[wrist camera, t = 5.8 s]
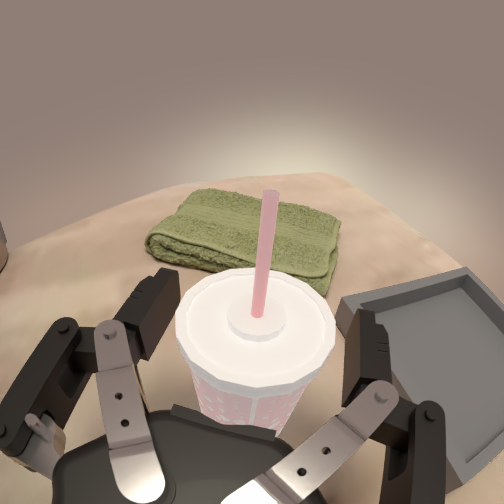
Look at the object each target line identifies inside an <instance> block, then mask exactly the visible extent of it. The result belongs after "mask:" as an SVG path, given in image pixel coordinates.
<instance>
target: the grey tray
mask: <svg viewBox="0 0 504 504" xmlns="http://www.w3.org/2000/svg"><path fill="white" fill-rule="evenodd" d="M358 308H360V309H366V310H372V311H374V312H375V320H376V323H377V324H383V325H384V327H385V329H386V331H387V332H388V335H389V346H390V358H391V373H392V384H393V386H394V387H395V388H396V389H397V391H398V394H399V396H401V397H402V398H404V399H406V400H408V401H410V402H413V403H415V404H417V405H419V404H420V403H421V402H423V401H426V400H431V401H434V402H436V403H438V404H439V405H440V406H441V407H442V408H443V410H444V413H445V423H446V488H445V494H447V493H449V492H451V491H453V490H455V489H457V488H458V487H460V486H462V485H464V484H465V483H466V482H467V481H469V480H470V479H471V478H472V477H473V476H475V475H476V474H477V473H478V472H479V471H480V470H481V469H483V468H484V467H485V466H486V465H487V464H488V463H489V462H490V461H491V460H492V459H493V458H494V457H496V456H497V455H498V454H499V453H500V452H501V451H502V450H503V449H504V304H503V303H502V302H501V301H500V300H499V299H498V298H497V297H496V296H495V295H494V294H493V292H492V291H491V290H490V289H489V288H488V287H487V286H486V285H485V284H484V283H483V282H482V281H481V280H480V279H478V277H477V276H475V274H473V272H471V271H470V270H469V269H468V268H467V267H463V268H460V269H456V270H452V271H449V272H445V273H441V274H437V275H434V276H430V277H426V278H422V279H418V280H414V281H410V282H406V283H402V284H398V285H393V286H389V287H385V288H381V289H376V290H372V291H367V292H363V293H358V294H354V295H349V296H345V297H342V298H341V301H340V304H339V306H338V309H337V312H336V315H335V321H336V325H337V327H338V328H339V330H340V331H341V333H342V335H343V336H344V338H345V339H346V335H347V332H348V330H349V327H350V325H351V322H352V320H353V317H354V315H355V312H356V310H357V309H358Z"/></svg>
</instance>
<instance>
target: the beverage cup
mask: <svg viewBox="0 0 504 504" xmlns="http://www.w3.org/2000/svg"><path fill="white" fill-rule="evenodd" d="M279 195H280V194H279V192H277V191H275V190H265V191H263V197H262V207H261V217H260V227H259V237H258V247H257V257H256V267H255V268H239V269H229V270H226V271H223V272H219V273H216V274H213V275H210V276H207V277H205V278H204V279H202V280H201V281H200V282H198V283H197V284H196V285H194V286H193V287H192V288H190V289H189V290H188V291H186V293H185V295H184V297H183V299H182V301H181V302H180V304H179V306H178V308H177V310H176V339H177V342H178V344H179V350H180V352H181V353H182V355H183V357H184V359H185V360H186V362H187V364H188V365H189V367H190V370H191V374H192V378H193V382H194V386H195V390H196V393H197V397H198V401H199V405H200V408H201V412H202V414H204V415H206V416H207V417H209V418H211V419H213V420H215V421H217V422H218V423H221V424H226V425H254V426H258V427H263V428H268V429H273V430H277V431H276V435H275V437H277V436H278V435H279V434H280V432H281V430H282V429H283V427H284V425H285V424H286V422H287V420H288V418H289V417H290V415H291V413H292V411H293V410H294V408H295V406H296V404H297V403H298V401H299V399H300V397H301V395H302V394H303V392H304V390H305V388H306V386H307V384H308V382H310V381H311V380H313V379H315V377H316V376H317V374H318V373H319V371H320V370H321V368H322V367H323V365H324V364H325V362H326V360H327V359H328V357H329V354H330V353H331V351H332V350H333V347H334V345H335V327H336V321H335V318H334V316H333V314H332V312H331V310H330V308H329V306H328V304H327V302H326V300H325V299H324V298H323V297H322V296H320V295H319V294H318V293H317V292H316V291H315V290H314V289H313V288H312V287H310V286H309V285H308V284H307V283H305V282H303V281H301V280H299V279H296V278H294V277H292V276H290V275H288V274H286V273H283V272H278V271H273V270H270V264H271V257H272V249H273V242H274V234H275V226H276V218H277V211H278V203H279Z"/></svg>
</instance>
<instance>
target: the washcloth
mask: <svg viewBox="0 0 504 504" xmlns="http://www.w3.org/2000/svg"><path fill="white" fill-rule="evenodd" d="M261 207H262V199H258V198H255V197H254V198H253V197H250V196H245V195H242V194H239V193H236V192H227V191H224V190H223V191H221V190H217V189H213V188H212V189H210V188H208V189H202V190H200V189H199V190H197V191H195V192H193V193H192V194H190V196H189V197H188V198H187V199H186V200H185V201H184V202H183V204H181V205H180V206H179V207H178V211H177V212H176V213H175V214H174V215H171V216H169V217H167V218H166V219H164V220H163V221H161V223H160V224H158V225H157V226H155V227H154V228H153V229H152V230H151V231H150V232H149V234H148V236H147V237H146V239H145V247H146V249H147V250H148V251H149V252H150V253H151V254H152V255H154V256H155V257H157V258H159V259H161V260H163V261H166V262H171V263H178V264H181V265H183V266H187V267H190V268H194V269H204V270H206V271H208V272H213V273H219V272H223V271H226V270H229V269H239V268H255V267H256V257H257V247H258V237H259V227H260V217H261ZM340 225H341V221H339V220H337V219H336V218H335V217H333V216H332V215H329V214H326V213H322V212H320V211H318V210H315V209H310V208H309V206H304V205H303V206H301V205H297V204H292V203H284V202H279V203H278V211H277V218H276V226H275V234H274V242H273V249H272V257H271V264H270V270H273V271H278V272H283V273H286V274H288V275H290V276H292V277H294V278H296V279H299V280H301V281H303V282H305V283H307V284H308V285H309V286H310V287H312V288H313V289H314V290H315V291H316V292H317V293H318V294H319V295H320V296H322V297H326V293H327V291H328V287H329V283H330V280H331V275H332V272H333V270H334V267H335V263H336V261H337V258H338V248H337V234H338V231H339V228H340Z"/></svg>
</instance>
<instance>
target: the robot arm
mask: <svg viewBox="0 0 504 504" xmlns="http://www.w3.org/2000/svg"><path fill="white" fill-rule="evenodd" d="M6 242H7V240H6V238H5V234H4V231H3V228H2V225H1V222H0V271H1V269H2V268H3V266H4V265H5V263H6V260H7V257H8V251H7V248H6V245H5V244H6ZM179 303H180V285H179V274H178V271H176V270H172V269H167V268H163V267H162V268H160V269H159V270H158V272H157V273H156V275H155V276H154V277H152V276H148V277H146V278H145V279H143V280H142V281H140V282H139V284H138V285H137V286H136V288H135V289H134V291H133V292H132V293H131V295H130V297H128V299H127V300H126V301H125V303H124V304H123V306H122V307H121V308H120V310H119V311H118V312H117V314H116V315H115V317H114V318H113V319H112V320H106V321H103V322H101V323H100V324H99V325H98V326H97V327H79V326H78V323H77V322H76V320H74V319H73V318H70V317H64V318H60V319H58V320H57V321H55V322H54V323H53V324H52V326H51V327H50V328H49V330H48V331H47V333H46V334H45V335H44V337H43V338H42V340H41V341H40V343H39V344H38V346H37V347H36V348H35V350H34V351H33V353H32V354H31V356H30V357H29V359H28V360H27V362H26V363H25V365H24V366H23V368H22V370H21V371H20V373H19V374H18V376H17V377H16V379H15V381H14V382H13V384H12V385H11V387H10V389H9V390H8V392H7V394H6V395H5V397H4V399H3V400H2V402H1V404H0V450H1V451H2V452H3V453H4V454H5V455H6V456H8V457H9V458H11V459H12V460H13V461H15V462H16V463H18V464H19V465H21V466H23V467H25V468H26V469H28V470H29V471H32V472H38V473H40V474H41V475H43V476H45V477H47V478H48V479H50V480H52V487H53V497H52V504H327V502H326V500H325V499H324V497H323V495H322V494H321V492H320V490H319V489H318V487H319V486H320V485H321V484H322V483H323V482H324V481H325V480H326V479H328V478H329V477H330V476H331V475H332V474H333V473H334V472H335V471H336V470H337V469H338V468H339V467H340V466H341V465H342V464H343V463H344V462H345V461H346V460H347V459H348V458H349V457H350V456H351V455H352V454H353V453H354V452H355V451H356V450H357V449H358V448H359V447H360V446H361V445H362V444H363V443H364V442H365V441H366V440H367V439H368V438H370V439H372V440H375V441H377V442H379V443H382V444H384V445H386V452H385V462H384V471H383V479H382V487H381V494H380V500H379V504H445V488H446V423H445V413H444V410H443V408H442V407H441V406H440V405H439V404H438V403H436V402H434V401H431V400H426V401H423V402H421V403H420V404H419V405H417V404H415V403H413V402H410V401H408V400H406V399H404V398H402V397H401V396H399V394H398V391H397V389H396V388H395V387H394V386H393V384H392V373H391V358H390V346H389V335H388V332H387V331H386V329H385V327H384V325H383V324H377V323H376V320H375V312H374V311H372V310H366V309H360V308H358V309H357V310H356V312H355V315H354V317H353V320H352V322H351V325H350V327H349V330H348V332H347V335H346V340H345V355H344V375H343V391H342V405H341V407H345V409H344V410H343V411H342V412H341V413H340V414H339V415H335V416H334V417H333V418H331V419H330V420H329V421H328V422H327V423H326V424H325V425H324V426H322V427H321V428H320V429H319V430H318V431H317V432H316V433H314V434H313V435H312V436H311V437H310V438H308V439H307V440H306V441H305V442H304V443H302V444H301V445H300V446H299V447H298V448H296V449H295V450H294V449H293V448H292V447H291V446H290V445H289V444H287V443H286V442H285V441H283V440H281V439H280V438H277V437H275V435H276V431H277V430H273V429H268V428H263V427H258V426H254V425H226V424H221V423H218V422H217V421H215V420H213V419H211V418H209V417H207V416H206V415H204V414H202V413H200V412H199V411H196V410H192V409H189V408H186V407H182V406H179V405H176V404H174V405H173V407H172V409H171V410H158V411H153V412H150V409H149V406H148V403H147V400H146V397H145V393H144V390H143V386H142V382H141V378H140V374H139V370H138V367H137V364H138V362H139V360H140V359H143V360H146V361H149V359H150V357H151V355H152V354H153V352H154V350H155V348H156V346H157V345H158V343H159V341H160V339H161V337H162V336H163V334H164V332H165V330H166V328H167V327H168V325H169V323H170V321H171V319H172V318H173V316H174V314H175V312H176V310H177V308H178V306H179ZM92 373H96V381H97V388H98V394H99V400H100V405H101V411H102V416H103V421H104V426H105V431H106V434H105V435H103V436H101V437H99V438H97V439H95V440H93V441H91V442H88V443H86V444H84V445H82V446H80V447H78V448H75V449H73V450H71V451H69V452H67V453H65V454H64V450H65V444H66V436H65V433H64V432H63V429H64V427H65V425H66V423H67V421H68V419H69V417H70V415H71V413H72V411H73V409H74V407H75V405H76V403H77V401H78V399H79V398H80V396H81V394H82V392H83V390H84V388H85V386H86V384H87V382H88V381H89V379H90V377H91V375H92Z"/></svg>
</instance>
